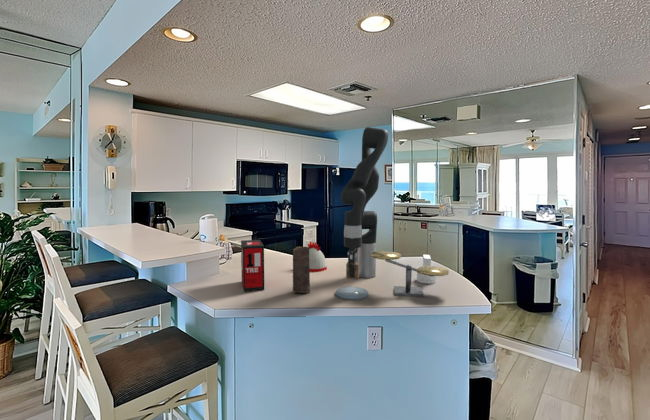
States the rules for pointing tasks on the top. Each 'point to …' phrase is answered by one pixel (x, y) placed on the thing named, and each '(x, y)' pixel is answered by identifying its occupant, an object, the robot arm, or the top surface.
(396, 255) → the balance
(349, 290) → the dish
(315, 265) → the kitchen timer
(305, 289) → the candle
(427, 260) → the cylinder with rectangular tab
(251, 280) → the cleaning product box
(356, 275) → the walnut block
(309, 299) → the top surface
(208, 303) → the top surface
